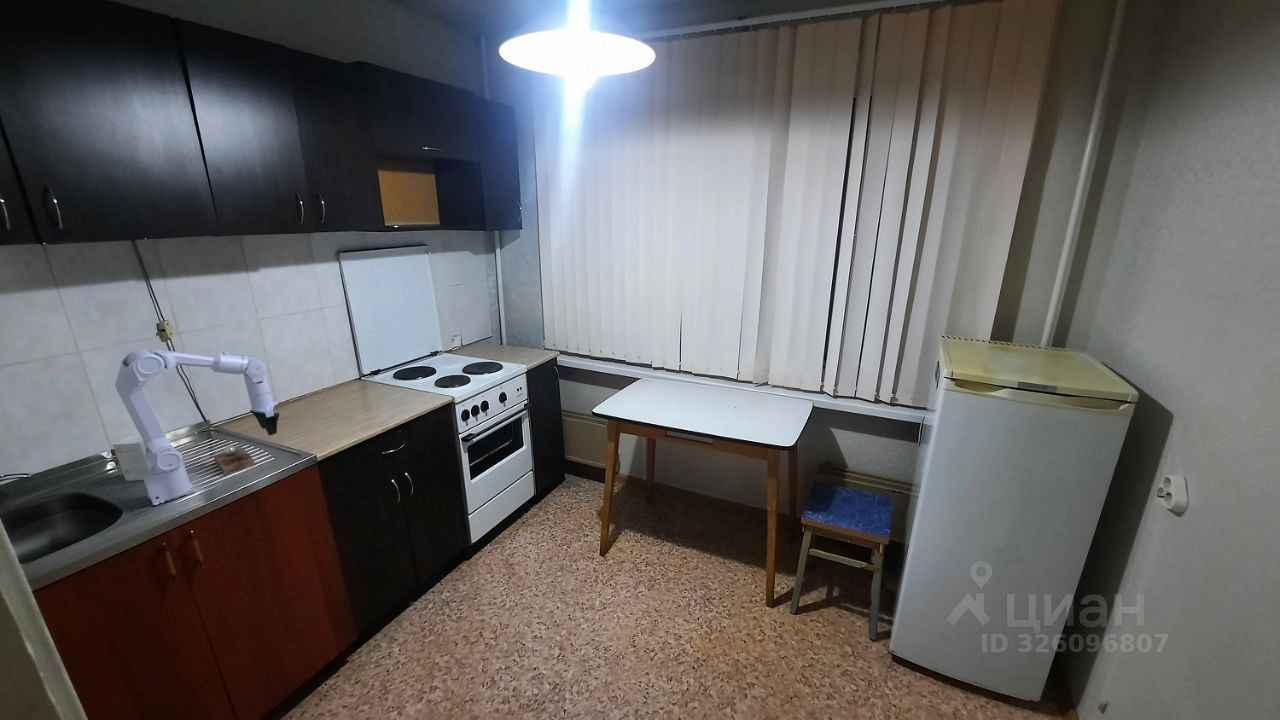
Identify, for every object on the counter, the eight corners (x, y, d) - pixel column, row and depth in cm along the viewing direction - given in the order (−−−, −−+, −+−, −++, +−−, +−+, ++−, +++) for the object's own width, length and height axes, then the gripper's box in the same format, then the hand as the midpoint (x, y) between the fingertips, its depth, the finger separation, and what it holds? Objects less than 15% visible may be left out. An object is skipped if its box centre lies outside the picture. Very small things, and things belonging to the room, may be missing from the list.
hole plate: (224, 475, 160) (222, 468, 159) (215, 462, 168) (213, 456, 167) (254, 465, 165) (253, 458, 165) (244, 453, 173) (242, 447, 173)
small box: (169, 469, 164) (156, 433, 160) (152, 480, 158) (139, 443, 154) (142, 471, 163) (129, 435, 159) (125, 481, 157) (111, 444, 153)
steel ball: (226, 457, 166) (223, 449, 165) (223, 455, 167) (221, 446, 167) (237, 454, 168) (235, 445, 167) (235, 451, 170) (232, 443, 169)
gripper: (280, 394, 161) (290, 432, 166) (267, 385, 170) (276, 421, 175) (254, 401, 156) (264, 440, 160) (242, 390, 165) (252, 428, 170)
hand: (269, 430), depth 167 cm, fingers open, 7 cm apart
